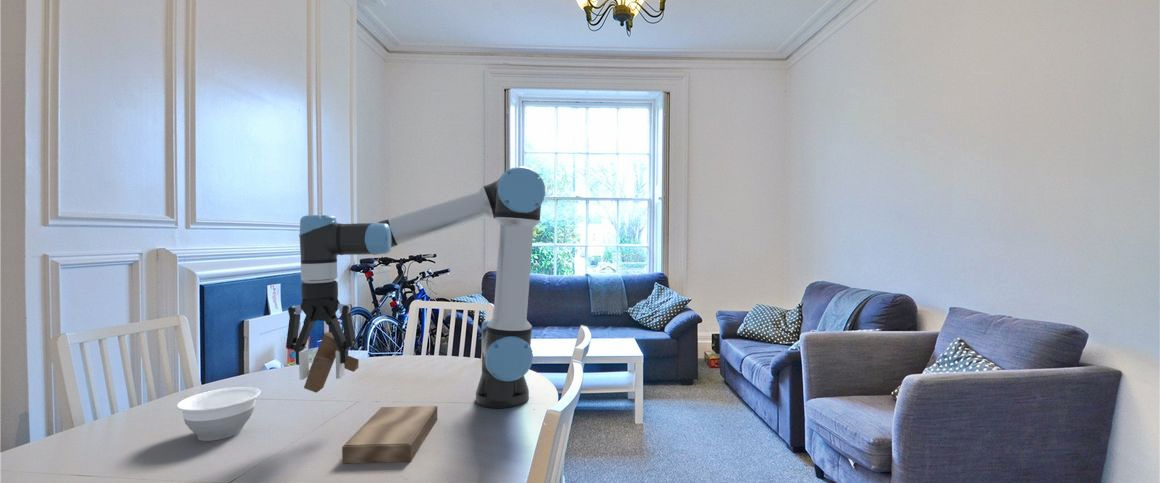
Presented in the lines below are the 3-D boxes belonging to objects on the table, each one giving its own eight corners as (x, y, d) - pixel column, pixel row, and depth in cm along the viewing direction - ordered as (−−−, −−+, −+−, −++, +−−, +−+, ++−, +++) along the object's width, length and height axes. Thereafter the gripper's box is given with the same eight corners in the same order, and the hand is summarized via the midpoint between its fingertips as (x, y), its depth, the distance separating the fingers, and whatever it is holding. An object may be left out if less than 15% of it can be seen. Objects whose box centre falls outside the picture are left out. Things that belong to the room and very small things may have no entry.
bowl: (276, 424, 117) (276, 390, 117) (207, 452, 102) (207, 413, 102) (232, 416, 122) (231, 383, 122) (160, 441, 107) (159, 405, 107)
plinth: (437, 419, 120) (437, 405, 119) (410, 461, 98) (410, 444, 98) (381, 420, 119) (381, 406, 119) (342, 463, 97) (342, 446, 97)
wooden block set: (321, 403, 102) (339, 360, 101) (283, 388, 101) (300, 345, 101) (355, 374, 120) (370, 337, 119) (323, 362, 119) (338, 325, 119)
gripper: (370, 278, 114) (372, 371, 114) (284, 280, 113) (286, 373, 113) (357, 281, 106) (360, 381, 107) (264, 283, 105) (267, 384, 106)
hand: (322, 377), depth 110 cm, fingers closed on wooden block set, 8 cm apart
